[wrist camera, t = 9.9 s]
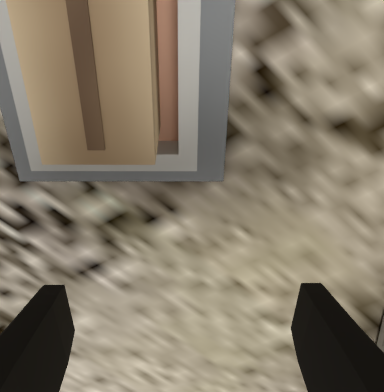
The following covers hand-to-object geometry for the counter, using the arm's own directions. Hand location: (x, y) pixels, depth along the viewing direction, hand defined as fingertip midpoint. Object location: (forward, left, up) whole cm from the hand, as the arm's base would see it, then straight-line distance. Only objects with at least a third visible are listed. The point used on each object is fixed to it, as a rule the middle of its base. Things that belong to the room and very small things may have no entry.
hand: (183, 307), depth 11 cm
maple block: (+7, +3, -8) cm, 11 cm away
